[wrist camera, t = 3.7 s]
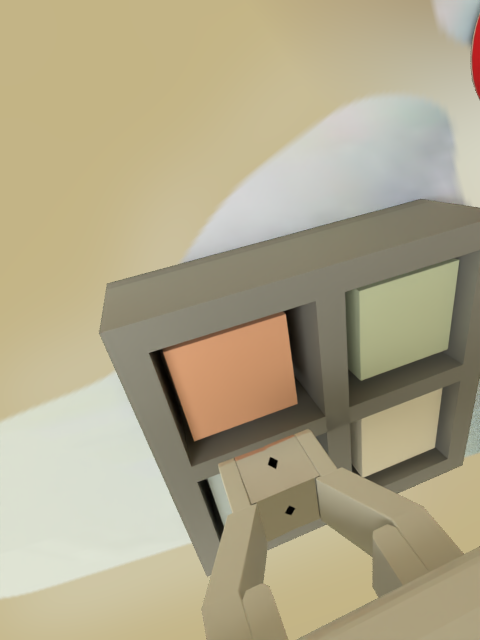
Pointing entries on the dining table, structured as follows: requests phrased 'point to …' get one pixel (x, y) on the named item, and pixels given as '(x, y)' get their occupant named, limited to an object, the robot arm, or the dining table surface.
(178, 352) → the key terracotta
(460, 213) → the grey square tray
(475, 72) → the beverage can
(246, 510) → the robot arm
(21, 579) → the dining table surface
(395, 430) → the key cream
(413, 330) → the key sage
